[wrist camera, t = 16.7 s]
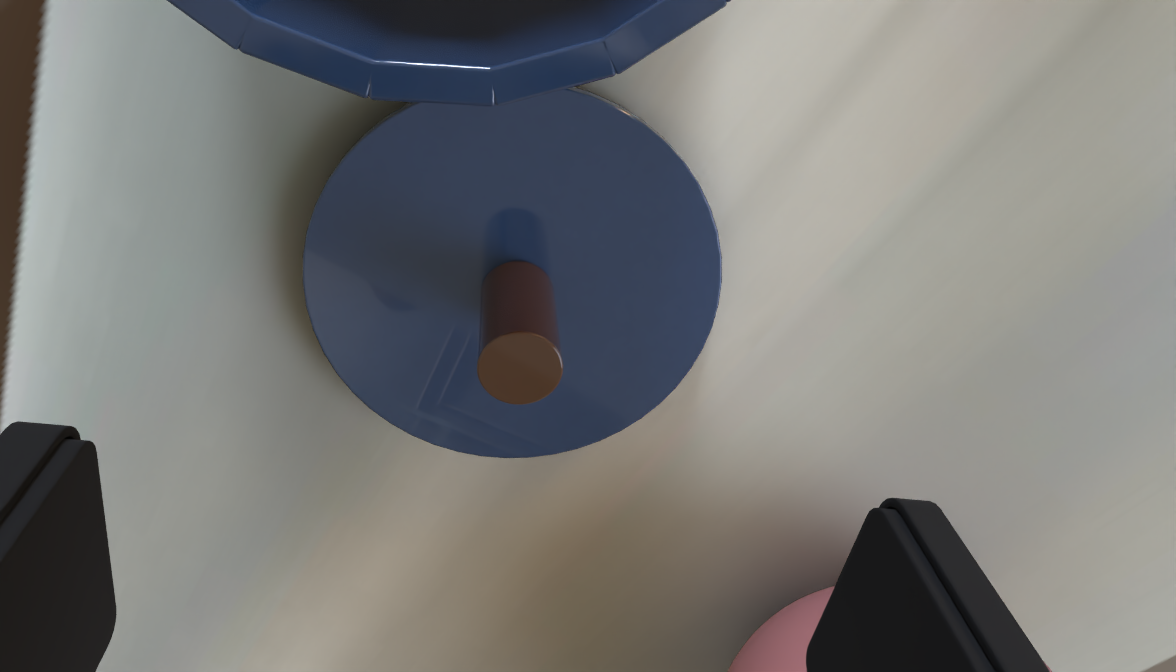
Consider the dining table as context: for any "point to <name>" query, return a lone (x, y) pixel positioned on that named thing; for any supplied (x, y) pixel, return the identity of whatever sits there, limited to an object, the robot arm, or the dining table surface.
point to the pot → (450, 42)
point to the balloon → (784, 637)
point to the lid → (512, 272)
